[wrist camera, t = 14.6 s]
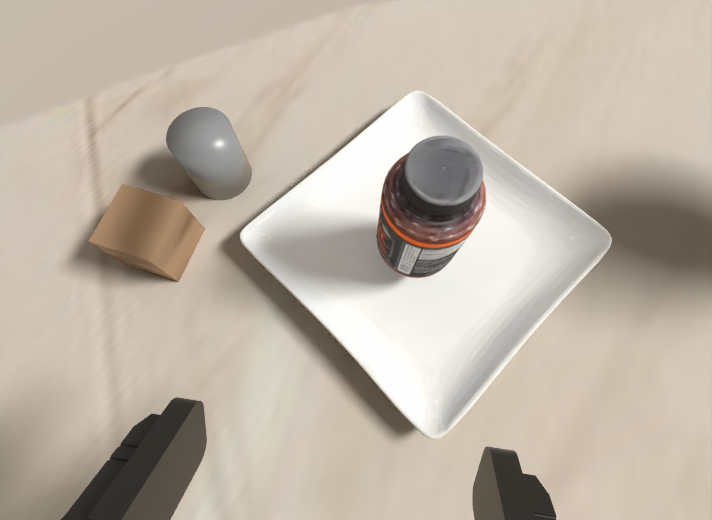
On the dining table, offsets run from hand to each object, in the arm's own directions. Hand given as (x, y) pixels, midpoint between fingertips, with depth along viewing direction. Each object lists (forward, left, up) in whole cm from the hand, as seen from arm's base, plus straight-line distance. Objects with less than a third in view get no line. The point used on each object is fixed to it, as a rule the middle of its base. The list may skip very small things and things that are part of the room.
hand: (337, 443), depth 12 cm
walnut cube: (-21, +1, -19) cm, 29 cm away
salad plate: (-4, +14, -20) cm, 25 cm away
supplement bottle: (-5, +13, -17) cm, 22 cm away
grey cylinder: (-22, +9, -19) cm, 31 cm away
